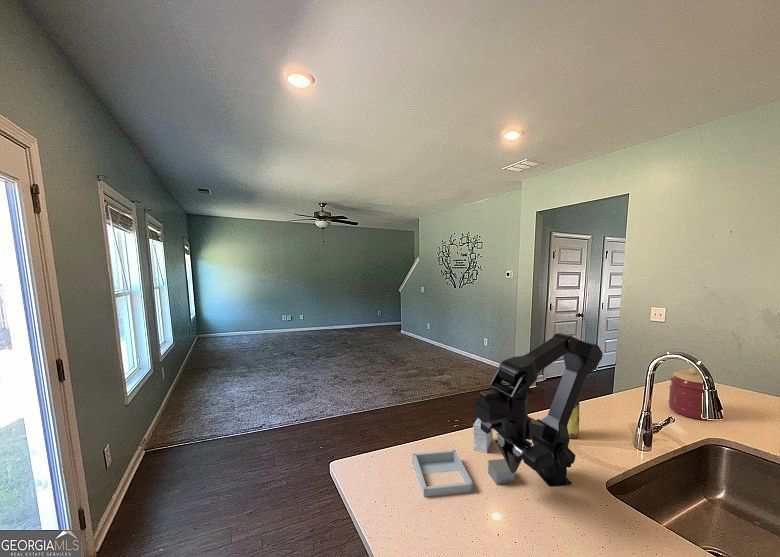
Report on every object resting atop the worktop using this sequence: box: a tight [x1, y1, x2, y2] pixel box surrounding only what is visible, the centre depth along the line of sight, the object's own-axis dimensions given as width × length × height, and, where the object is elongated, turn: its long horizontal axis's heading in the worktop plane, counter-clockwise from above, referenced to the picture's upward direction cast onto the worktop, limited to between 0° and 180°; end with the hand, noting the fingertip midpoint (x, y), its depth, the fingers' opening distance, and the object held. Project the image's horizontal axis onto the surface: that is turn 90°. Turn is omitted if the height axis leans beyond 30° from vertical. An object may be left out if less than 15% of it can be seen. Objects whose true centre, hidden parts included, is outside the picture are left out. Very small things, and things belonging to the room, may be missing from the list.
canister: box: [668, 367, 717, 421], centre depth 118 cm, size 13×13×18 cm
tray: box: [412, 449, 475, 498], centre depth 83 cm, size 14×13×4 cm
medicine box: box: [472, 417, 494, 454], centre depth 98 cm, size 8×4×9 cm, turn 149°
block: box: [487, 458, 516, 486], centre depth 82 cm, size 5×5×4 cm
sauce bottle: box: [567, 397, 580, 439], centre depth 104 cm, size 6×6×20 cm
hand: (513, 472), depth 76 cm, fingers closed
